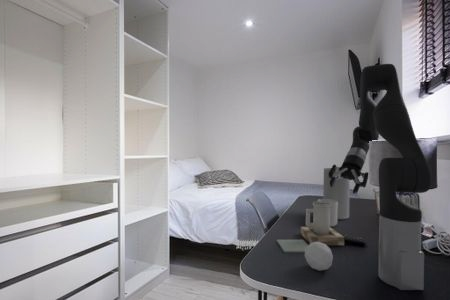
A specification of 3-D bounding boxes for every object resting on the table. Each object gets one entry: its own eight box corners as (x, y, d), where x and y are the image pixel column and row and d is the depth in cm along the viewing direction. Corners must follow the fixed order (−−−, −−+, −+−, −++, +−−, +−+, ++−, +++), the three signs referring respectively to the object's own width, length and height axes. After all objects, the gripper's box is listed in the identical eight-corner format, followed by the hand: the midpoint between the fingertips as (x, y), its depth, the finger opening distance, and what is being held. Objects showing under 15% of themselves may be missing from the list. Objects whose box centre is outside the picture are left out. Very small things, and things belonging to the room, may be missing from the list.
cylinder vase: (354, 218, 125) (355, 169, 125) (336, 220, 120) (337, 170, 120) (335, 212, 136) (336, 167, 136) (317, 214, 132) (318, 168, 132)
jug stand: (344, 245, 90) (344, 237, 90) (312, 245, 89) (312, 237, 89) (329, 233, 102) (329, 226, 102) (300, 233, 101) (300, 226, 101)
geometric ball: (310, 276, 72) (295, 251, 76) (330, 263, 75) (314, 239, 78) (322, 275, 66) (305, 247, 69) (344, 261, 69) (326, 234, 72)
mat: (313, 252, 83) (313, 250, 83) (284, 252, 83) (284, 250, 83) (302, 241, 93) (302, 239, 93) (276, 241, 93) (276, 239, 93)
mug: (335, 228, 108) (335, 203, 108) (314, 224, 113) (315, 201, 113) (339, 222, 118) (340, 199, 118) (320, 218, 123) (321, 197, 123)
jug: (333, 242, 92) (334, 205, 92) (309, 242, 92) (309, 205, 92) (325, 236, 99) (326, 201, 99) (303, 236, 99) (303, 201, 98)
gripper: (337, 150, 107) (323, 178, 100) (374, 158, 98) (362, 189, 91) (337, 161, 112) (324, 189, 104) (372, 170, 103) (361, 200, 96)
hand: (342, 189), depth 98 cm, fingers open, 8 cm apart
